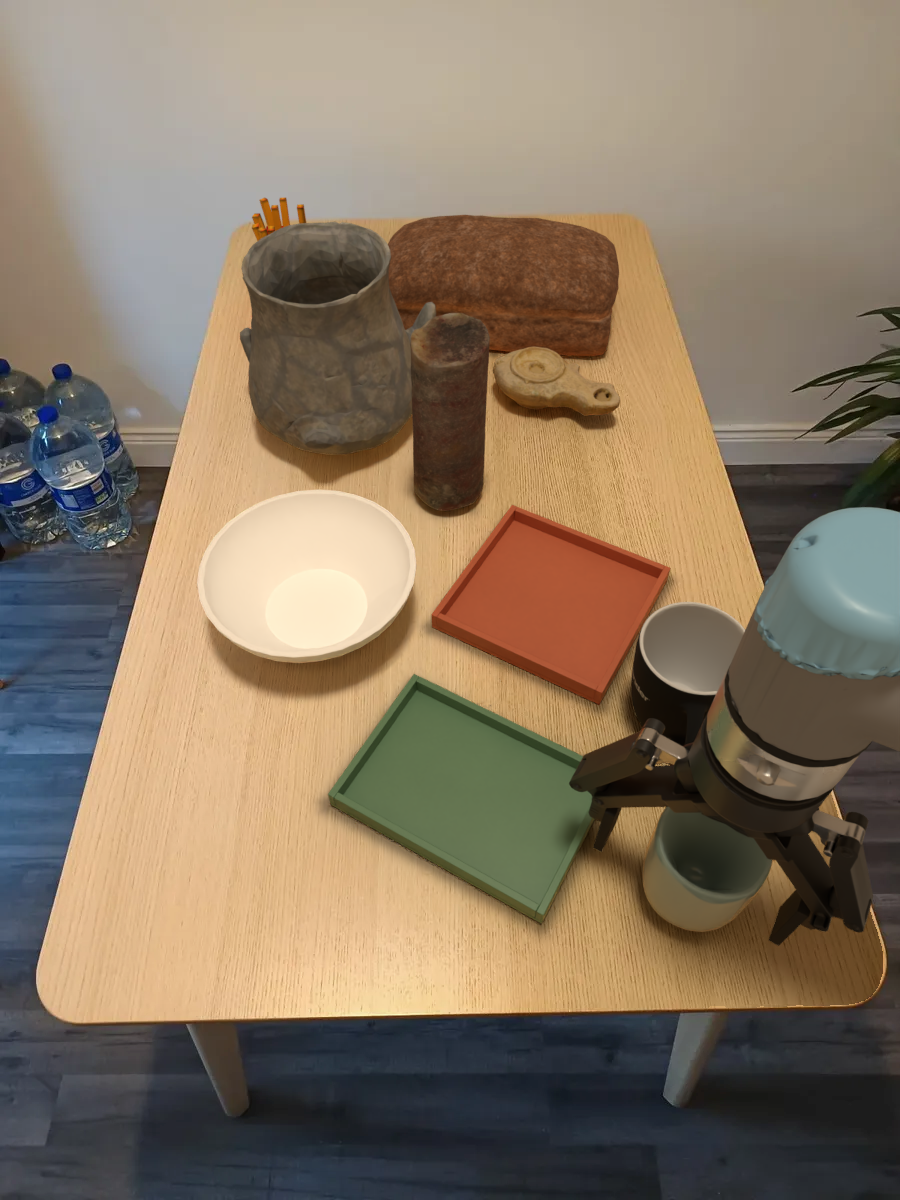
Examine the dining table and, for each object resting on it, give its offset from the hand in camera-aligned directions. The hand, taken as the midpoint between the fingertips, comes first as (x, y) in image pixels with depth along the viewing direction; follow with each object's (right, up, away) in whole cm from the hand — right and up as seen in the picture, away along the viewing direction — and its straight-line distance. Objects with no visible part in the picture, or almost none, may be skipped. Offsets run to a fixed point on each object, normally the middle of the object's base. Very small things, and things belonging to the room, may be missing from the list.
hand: (688, 879), depth 64 cm
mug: (+2, +10, +11) cm, 14 cm away
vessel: (-31, +41, +36) cm, 62 cm away
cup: (0, -2, +2) cm, 3 cm away
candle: (-18, +32, +28) cm, 46 cm away
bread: (-12, +57, +48) cm, 76 cm away
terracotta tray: (-8, +20, +19) cm, 29 cm away
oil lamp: (-6, +44, +37) cm, 58 cm away
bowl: (-30, +19, +19) cm, 41 cm away
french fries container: (-37, +57, +48) cm, 84 cm away
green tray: (-16, +5, +7) cm, 18 cm away
